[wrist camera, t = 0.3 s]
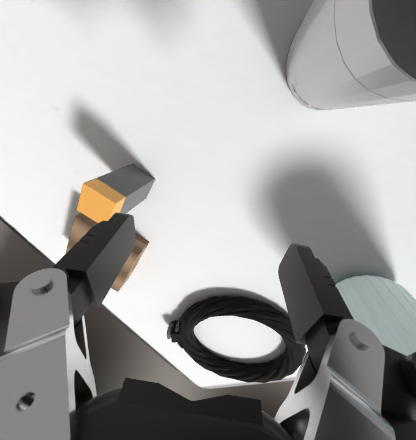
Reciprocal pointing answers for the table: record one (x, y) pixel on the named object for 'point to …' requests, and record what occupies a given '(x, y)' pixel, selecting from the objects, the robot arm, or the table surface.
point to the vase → (382, 310)
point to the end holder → (84, 225)
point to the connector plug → (114, 193)
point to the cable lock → (246, 309)
